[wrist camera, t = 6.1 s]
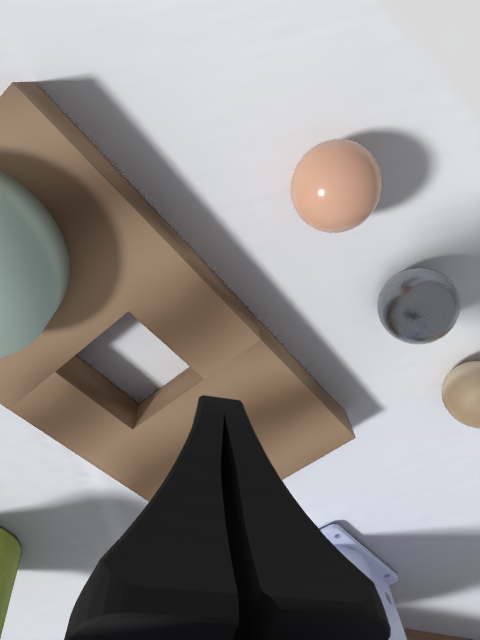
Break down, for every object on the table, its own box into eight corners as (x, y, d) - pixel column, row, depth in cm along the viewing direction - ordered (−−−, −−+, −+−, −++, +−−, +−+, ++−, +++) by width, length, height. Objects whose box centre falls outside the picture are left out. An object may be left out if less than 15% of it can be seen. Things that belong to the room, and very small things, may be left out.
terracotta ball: (381, 183, 18) (413, 204, 15) (314, 233, 19) (332, 263, 16) (337, 114, 17) (364, 122, 14) (268, 172, 18) (279, 192, 15)
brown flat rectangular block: (345, 412, 25) (355, 437, 23) (194, 503, 28) (193, 530, 27) (34, 81, 16) (12, 82, 14) (-134, 273, 19) (-168, 293, 18)
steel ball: (450, 292, 21) (489, 329, 18) (389, 331, 22) (416, 372, 19) (418, 242, 20) (454, 272, 17) (354, 286, 21) (378, 322, 18)
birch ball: (502, 376, 24) (543, 419, 21) (446, 407, 25) (478, 453, 22) (477, 337, 23) (518, 377, 20) (419, 372, 24) (449, 415, 21)
